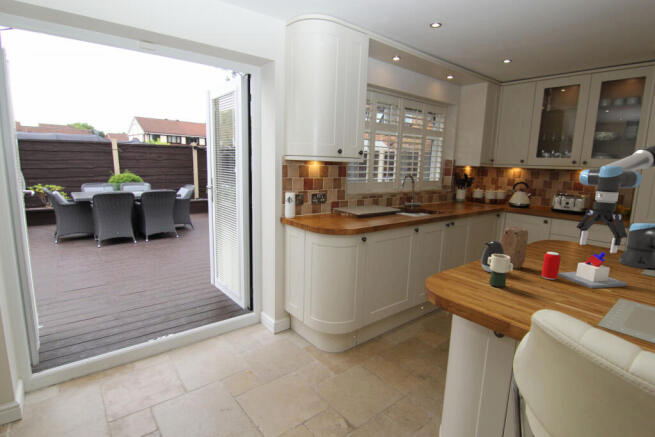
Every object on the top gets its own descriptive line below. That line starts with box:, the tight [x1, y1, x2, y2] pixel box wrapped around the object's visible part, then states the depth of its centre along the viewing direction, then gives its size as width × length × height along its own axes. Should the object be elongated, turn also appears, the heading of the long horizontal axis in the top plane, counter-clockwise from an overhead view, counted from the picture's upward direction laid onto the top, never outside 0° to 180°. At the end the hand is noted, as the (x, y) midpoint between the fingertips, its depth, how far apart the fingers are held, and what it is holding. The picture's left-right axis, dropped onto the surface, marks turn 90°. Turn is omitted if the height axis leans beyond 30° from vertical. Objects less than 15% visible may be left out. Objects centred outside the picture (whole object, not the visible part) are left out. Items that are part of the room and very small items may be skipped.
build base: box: [558, 262, 628, 289], centre depth 149 cm, size 20×16×7 cm
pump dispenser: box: [480, 240, 504, 274], centre depth 156 cm, size 10×10×15 cm
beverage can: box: [541, 251, 561, 281], centre depth 150 cm, size 6×6×12 cm
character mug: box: [488, 254, 514, 288], centre depth 138 cm, size 11×7×13 cm, turn 30°
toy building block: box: [584, 251, 607, 267], centre depth 147 cm, size 4×4×8 cm
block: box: [500, 226, 529, 270], centre depth 165 cm, size 11×8×20 cm
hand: (597, 248), depth 147 cm, fingers open, 13 cm apart
